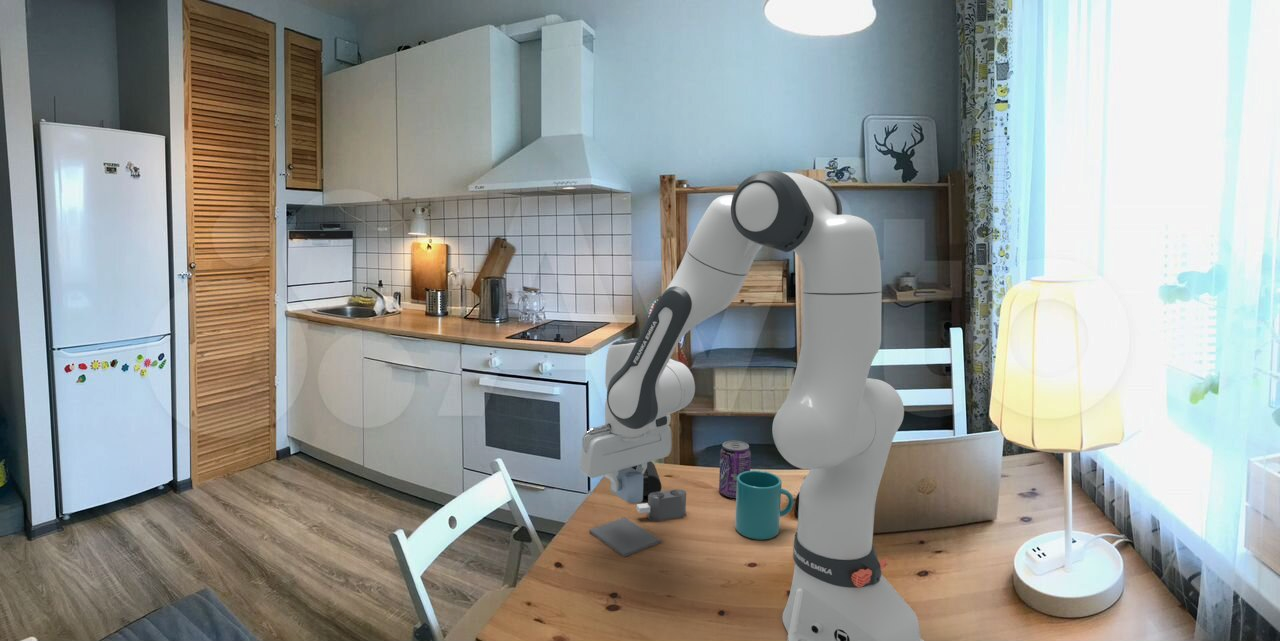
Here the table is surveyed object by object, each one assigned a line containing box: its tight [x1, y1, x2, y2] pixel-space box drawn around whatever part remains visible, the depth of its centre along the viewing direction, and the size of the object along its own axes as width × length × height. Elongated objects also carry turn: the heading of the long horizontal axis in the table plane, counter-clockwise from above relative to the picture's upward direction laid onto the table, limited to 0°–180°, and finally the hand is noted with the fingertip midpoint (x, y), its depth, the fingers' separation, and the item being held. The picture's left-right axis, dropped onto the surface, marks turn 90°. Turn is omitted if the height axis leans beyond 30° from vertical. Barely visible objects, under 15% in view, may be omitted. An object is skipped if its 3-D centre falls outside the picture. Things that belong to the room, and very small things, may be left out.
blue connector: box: [602, 467, 643, 504], centre depth 123 cm, size 11×4×5 cm, turn 38°
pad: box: [588, 517, 662, 558], centre depth 124 cm, size 12×9×1 cm
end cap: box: [631, 461, 662, 503], centre depth 144 cm, size 10×7×7 cm
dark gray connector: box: [636, 489, 687, 522], centre depth 133 cm, size 11×4×5 cm, turn 108°
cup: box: [734, 470, 794, 541], centre depth 127 cm, size 9×12×11 cm
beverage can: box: [718, 440, 752, 499], centre depth 144 cm, size 7×7×12 cm
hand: (626, 486), depth 122 cm, fingers closed on blue connector, 3 cm apart
